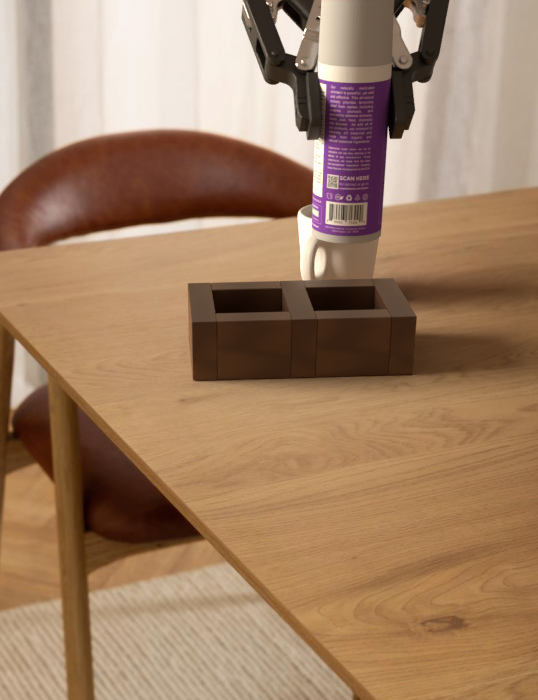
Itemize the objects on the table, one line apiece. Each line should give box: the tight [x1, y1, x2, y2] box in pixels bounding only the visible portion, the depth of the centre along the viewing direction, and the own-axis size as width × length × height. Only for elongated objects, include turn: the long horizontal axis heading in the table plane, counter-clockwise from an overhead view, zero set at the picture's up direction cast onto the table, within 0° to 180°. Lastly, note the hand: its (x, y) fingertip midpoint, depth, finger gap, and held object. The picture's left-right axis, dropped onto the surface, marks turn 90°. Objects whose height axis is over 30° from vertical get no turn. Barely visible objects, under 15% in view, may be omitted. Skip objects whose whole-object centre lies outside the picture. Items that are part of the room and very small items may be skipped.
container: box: [311, 0, 394, 244], centre depth 76 cm, size 5×5×15 cm
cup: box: [297, 203, 380, 281], centre depth 112 cm, size 11×8×8 cm
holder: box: [187, 277, 418, 381], centre depth 100 cm, size 18×10×5 cm, turn 93°
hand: (356, 131), depth 75 cm, fingers closed on container, 4 cm apart
